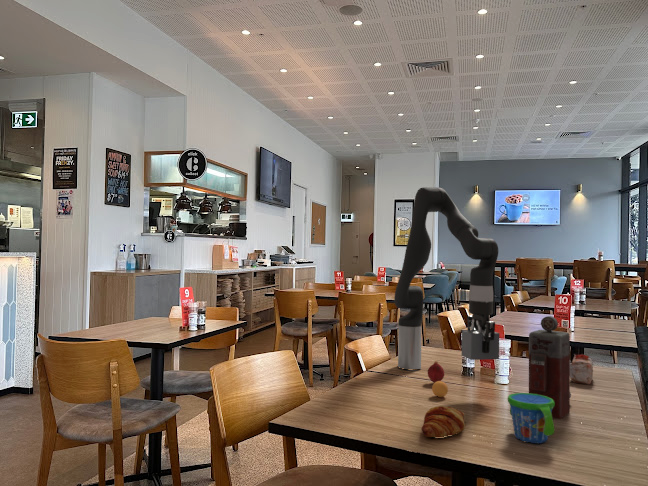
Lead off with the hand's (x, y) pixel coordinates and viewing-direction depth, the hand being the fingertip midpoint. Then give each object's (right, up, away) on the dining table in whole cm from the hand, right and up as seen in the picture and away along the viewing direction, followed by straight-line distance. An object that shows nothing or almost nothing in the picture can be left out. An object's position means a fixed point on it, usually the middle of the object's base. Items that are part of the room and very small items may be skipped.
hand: (480, 350), depth 163 cm
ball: (-14, -12, -2) cm, 18 cm away
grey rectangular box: (0, -2, 0) cm, 2 cm away
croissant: (-19, -14, -33) cm, 41 cm away
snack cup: (+1, -14, -39) cm, 41 cm away
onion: (-11, -15, +15) cm, 24 cm away
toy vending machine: (+14, -15, -17) cm, 27 cm away
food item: (+45, -16, +23) cm, 53 cm away
